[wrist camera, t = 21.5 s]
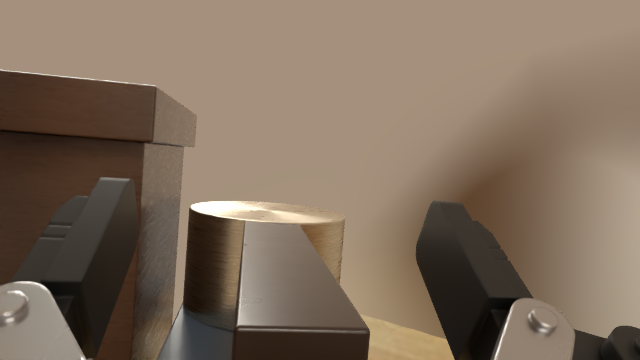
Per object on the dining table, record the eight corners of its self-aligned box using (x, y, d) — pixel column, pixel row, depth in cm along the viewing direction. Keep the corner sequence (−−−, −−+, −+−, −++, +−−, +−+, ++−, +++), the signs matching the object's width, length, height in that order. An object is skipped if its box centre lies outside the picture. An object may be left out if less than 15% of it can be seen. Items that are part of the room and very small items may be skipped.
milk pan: (37, 622, 7) (54, 322, 7) (193, 280, 27) (199, 197, 27) (491, 589, 9) (517, 332, 8) (324, 285, 28) (330, 206, 28)
